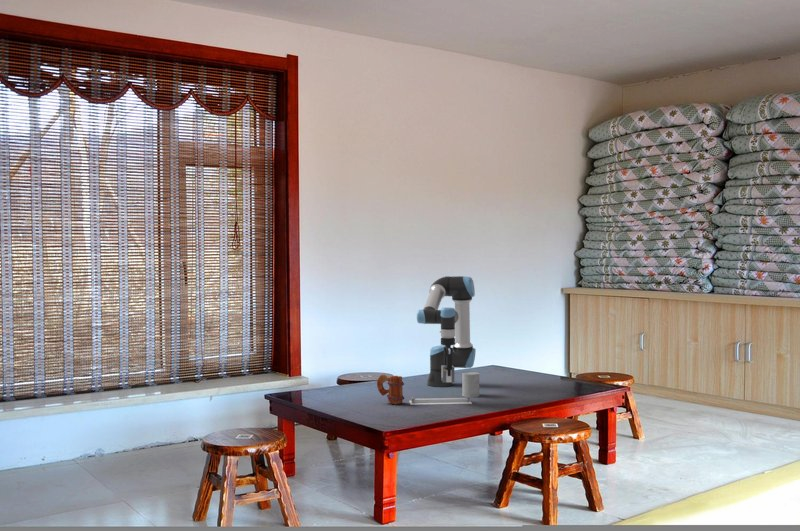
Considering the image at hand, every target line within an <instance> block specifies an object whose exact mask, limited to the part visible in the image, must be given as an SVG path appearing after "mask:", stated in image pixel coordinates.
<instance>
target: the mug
mask: <svg viewBox="0 0 800 531" xmlns="http://www.w3.org/2000/svg"><path fill="white" fill-rule="evenodd" d="M385 382H387V384H388V389H386V388H384V383H385ZM376 385H377V386H376V387H377V390H378V392H379V394H381V396H386V397H387V402H388V403H389V404H391V405H400V404H402V403H403V400H405V396H404V395H403V392H404V391H403V386H404V385H405V382H404V381H403V376H401V375H391V376H387V375H386V374H381V375H380V376H379V377H378V378H377V380H376Z"/></svg>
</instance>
